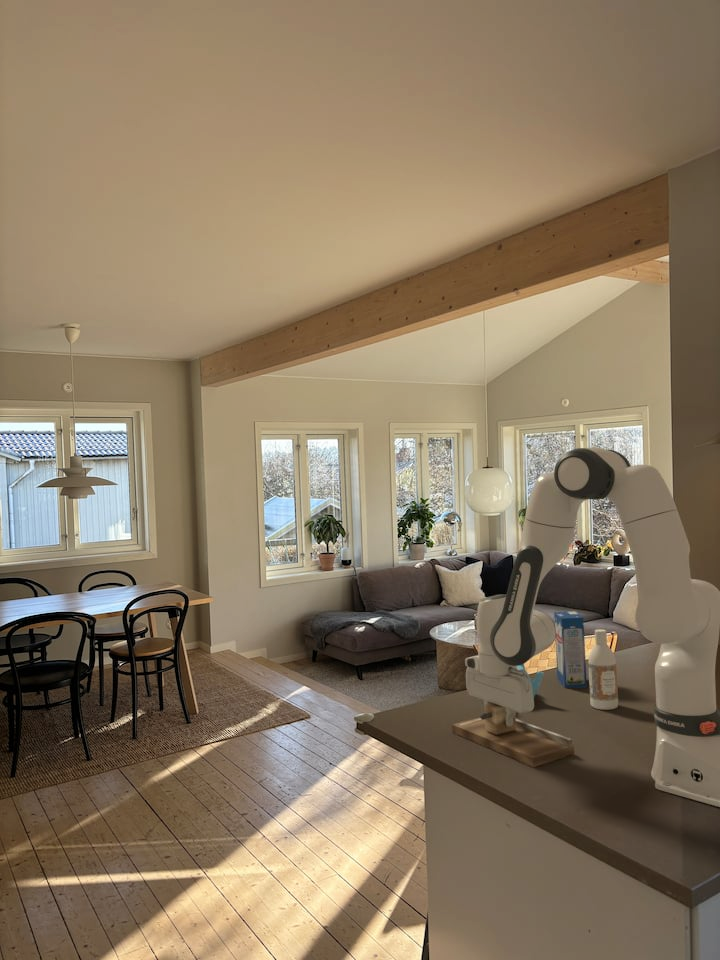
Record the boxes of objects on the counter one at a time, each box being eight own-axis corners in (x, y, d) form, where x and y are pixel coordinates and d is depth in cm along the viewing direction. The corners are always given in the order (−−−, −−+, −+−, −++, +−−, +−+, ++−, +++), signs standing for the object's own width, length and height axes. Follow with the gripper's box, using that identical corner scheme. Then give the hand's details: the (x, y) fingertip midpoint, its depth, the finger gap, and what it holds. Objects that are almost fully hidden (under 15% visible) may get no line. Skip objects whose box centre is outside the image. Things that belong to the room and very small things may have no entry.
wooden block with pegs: (524, 727, 180) (523, 702, 180) (488, 736, 174) (487, 710, 174) (512, 723, 183) (511, 698, 183) (476, 732, 178) (476, 706, 178)
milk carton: (557, 678, 228) (554, 612, 228) (578, 677, 228) (575, 611, 227) (565, 688, 218) (561, 618, 218) (586, 687, 218) (583, 617, 218)
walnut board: (574, 754, 167) (573, 738, 167) (533, 767, 161) (532, 750, 161) (490, 722, 192) (490, 708, 192) (452, 732, 185) (452, 718, 185)
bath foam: (597, 711, 196) (593, 634, 196) (586, 703, 203) (582, 628, 202) (623, 709, 197) (619, 631, 196) (610, 701, 203) (607, 626, 203)
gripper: (539, 670, 171) (542, 731, 172) (480, 653, 189) (483, 709, 189) (518, 675, 168) (521, 737, 168) (460, 658, 186) (463, 714, 186)
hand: (500, 722), depth 179 cm, fingers closed on wooden block with pegs, 4 cm apart
